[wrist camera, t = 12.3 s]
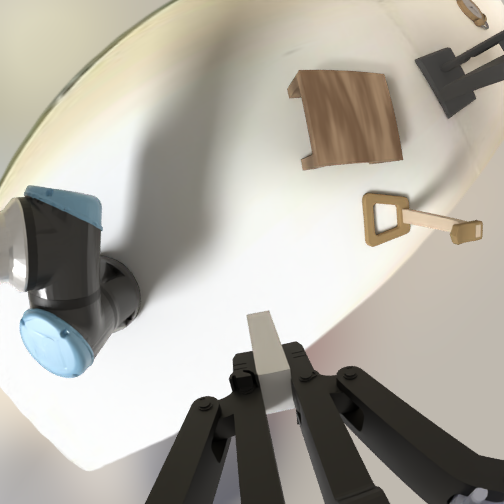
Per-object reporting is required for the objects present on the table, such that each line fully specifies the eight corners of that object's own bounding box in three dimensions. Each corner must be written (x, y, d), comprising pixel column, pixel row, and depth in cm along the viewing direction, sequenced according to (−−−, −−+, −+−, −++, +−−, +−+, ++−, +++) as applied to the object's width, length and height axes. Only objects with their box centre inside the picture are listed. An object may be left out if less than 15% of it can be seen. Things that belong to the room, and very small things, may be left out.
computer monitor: (418, 139, 48) (577, 121, 9) (380, 75, 45) (519, -1, 6) (489, 88, 46) (583, 71, 7) (462, 42, 42) (551, 8, 3)
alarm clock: (463, -8, 34) (493, 21, 35) (457, -2, 39) (487, 26, 40) (456, -2, 35) (490, 29, 36) (451, 4, 40) (483, 35, 41)
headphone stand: (360, 193, 50) (436, 199, 28) (404, 189, 50) (482, 195, 29) (365, 246, 52) (436, 278, 31) (407, 238, 53) (481, 263, 31)
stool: (318, 166, 39) (403, 159, 40) (299, 70, 35) (384, 74, 36) (302, 170, 48) (377, 163, 49) (287, 88, 44) (362, 88, 45)
